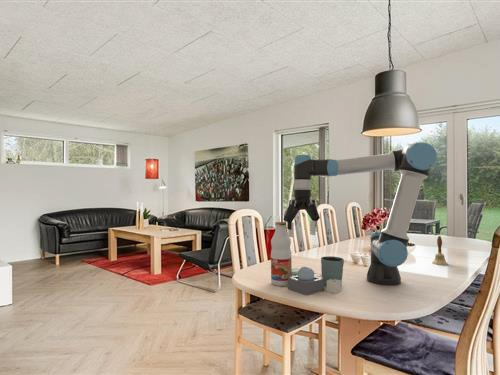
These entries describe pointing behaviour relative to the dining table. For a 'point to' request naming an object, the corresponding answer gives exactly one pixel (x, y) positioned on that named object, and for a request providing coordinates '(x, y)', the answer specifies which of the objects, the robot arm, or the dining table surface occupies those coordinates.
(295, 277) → the collar
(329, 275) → the teal and white cup
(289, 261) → the fruit juice
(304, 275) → the blue-grey ball
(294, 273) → the track board
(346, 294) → the dining table surface
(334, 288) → the die
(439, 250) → the hand bell
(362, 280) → the dining table surface
